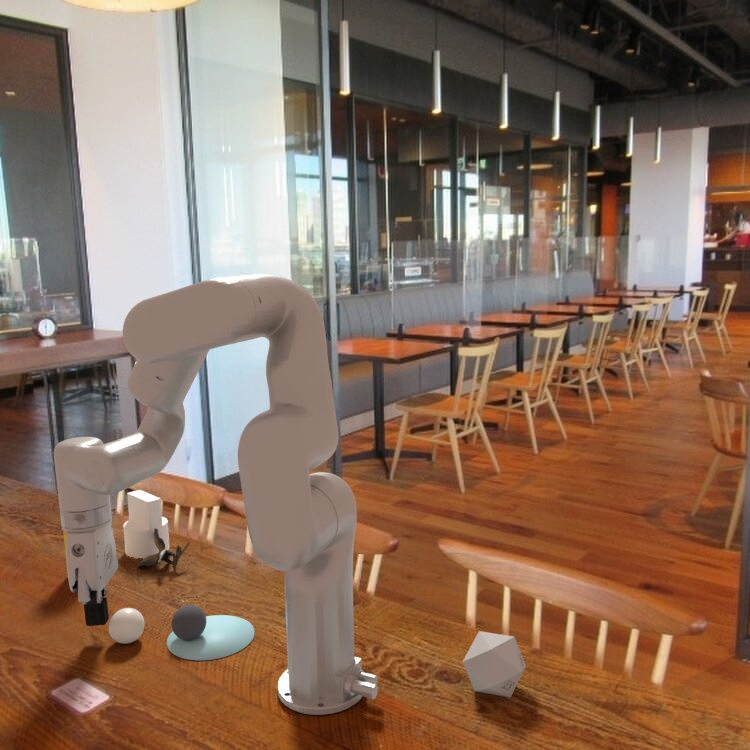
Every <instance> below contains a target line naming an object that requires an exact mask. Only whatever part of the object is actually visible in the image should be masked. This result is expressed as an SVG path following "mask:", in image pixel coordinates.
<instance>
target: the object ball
mask: <svg viewBox="0 0 750 750" xmlns="http://www.w3.org/2000/svg"><path fill="white" fill-rule="evenodd" d="M205 627H206V614H205V612H204V610H203V609H202V607H199V606H197V605H194V604H186V605H182V606H181V607H179V608H178V609H177V610H176V611H175V613H174V614H173V616H172V618H171V630H172V631H173V632H174V634H175V635H176V636H177V637H178V638H180V639H182V640H193V639H196V638H197V637H199V636H200V635H201V634H202V633H203V631H204V629H205Z"/></svg>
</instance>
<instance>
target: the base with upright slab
mask: <svg viewBox="0 0 750 750" xmlns="http://www.w3.org/2000/svg"><path fill="white" fill-rule="evenodd" d="M126 495H127V496H126V497H127V509H128V520H126V521H125V522H124V523H123V538H124V539H123V540H124V541H123V543H124V553H125V556H127V557H128V556H130V557H129V558H131V557H134V558H133V559H138V558H143V559H144V558H145V557H147V556H149V555H154V554H157V553H158V552H159V549H158V548H157V547H156V545H155V543H154V530H155V529H158V534H159V538H162V539H163V541H164V544H165V548H166V550H168V551H169V550H170V535H169V523H168V522H169V520H168V518H166V517H165V516H163V514H162V513H163V511H162V498H161V497H158V496H155V495H153V494H151V493H148V492H147V491H144V490H141V489H138V490H133V491H130V492H127V493H126Z"/></svg>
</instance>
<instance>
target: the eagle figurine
mask: <svg viewBox="0 0 750 750" xmlns="http://www.w3.org/2000/svg"><path fill="white" fill-rule="evenodd" d="M154 543H155V545H156V547H157V548H158V549H159V552H158V553H157V554H154V555H149V556H147V557H145V558H143V559H142V560H141V561H140V562H138V564H137V565H136V567H137V568H139V567H141V566H142V567H143V566H152V565H154V564H155V563H156V562H157V563H158V564H159V563H160V562H161V561H163V562H165V563H167V564H169V565H171V566H172V569H173V571H174V572H176V571H177V566H178V562H179V561H180V558H181V556H182V555H183V553H184V552H185V551H186V550H187V549H188V547H189V546H190V541H188V542H187V543H186V545H184V547H183V548H182V547H181V546H180V545H179V544H177V547H176V549H175V550H176V551H175V552H172V551H169V550H166V548H165V544H164V541H163V539H162V538H159V534H158V529H155V530H154ZM171 557H172V559H173V560H171Z"/></svg>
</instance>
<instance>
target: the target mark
mask: <svg viewBox="0 0 750 750" xmlns="http://www.w3.org/2000/svg"><path fill="white" fill-rule="evenodd" d="M205 616H206V615H205ZM255 634H256V633H255V628H254V626H253V624H252V623H251V622H250V621H248V620H246V619H244V618H242V617H239V616H235V615H228V614H226V615H225V614H215V615H208V616H206V627H205V629H204V631H203V633H202V634H201V635H200V636H199V637H197V638H196V639H193V640H182V639H180V638H178V637H177V636H176V635H175V634H174V632H173V630H172V632H171V633H169V635H168V637H167V639H166V647H167V649H168V651H169V652H170V653H171V654H172V655H174V656H176V657H178V658H181V659H184V660H189V661H211V660H212V661H213V660H218V659H222V658H225V657H229V656H232V655H234V654H236V653H238V652H240V651H242V650H244V649H245V648H246V647H247V646H249V645H250V643H252V641H253V640H254V638H255Z"/></svg>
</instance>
